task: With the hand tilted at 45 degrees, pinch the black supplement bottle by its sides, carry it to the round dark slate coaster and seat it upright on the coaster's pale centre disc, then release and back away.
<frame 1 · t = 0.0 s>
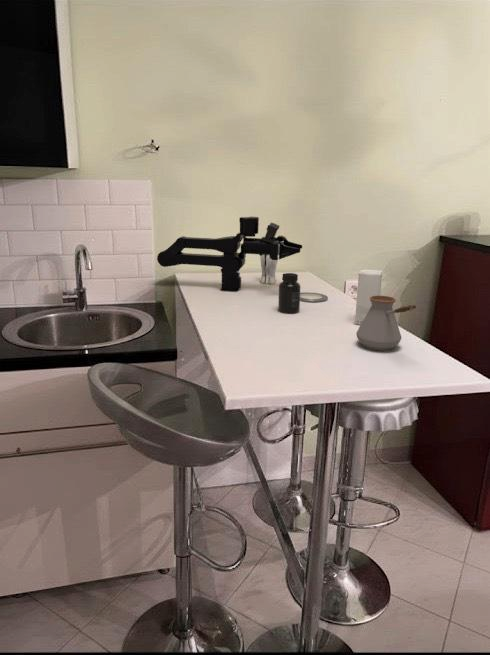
hand: (301, 248, 182), 17 cm above the countertop, tool horizontal, fingers open, 9 cm apart
skincare box: (365, 322, 155), on the countertop
coaster: (310, 298, 182), on the countertop
beer glass: (268, 282, 204), on the countertop
coffee pot: (386, 353, 130), on the countertop
supplement bottle: (288, 311, 165), on the countertop
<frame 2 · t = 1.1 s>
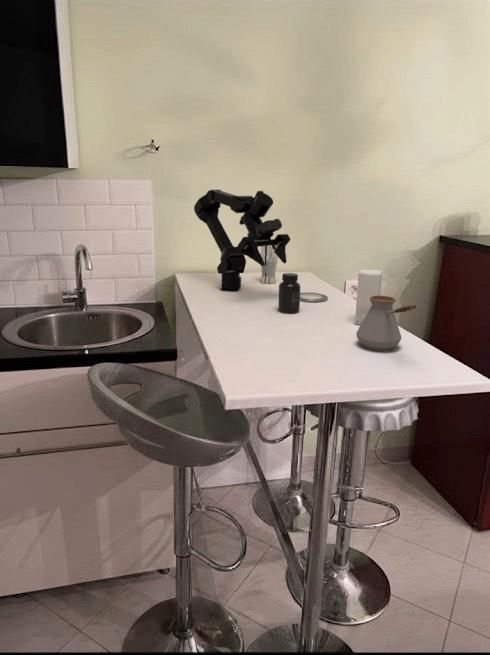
hand: (274, 264, 167), 14 cm above the countertop, tool tilted 45°, fingers open, 9 cm apart
nothing on the countertop moved.
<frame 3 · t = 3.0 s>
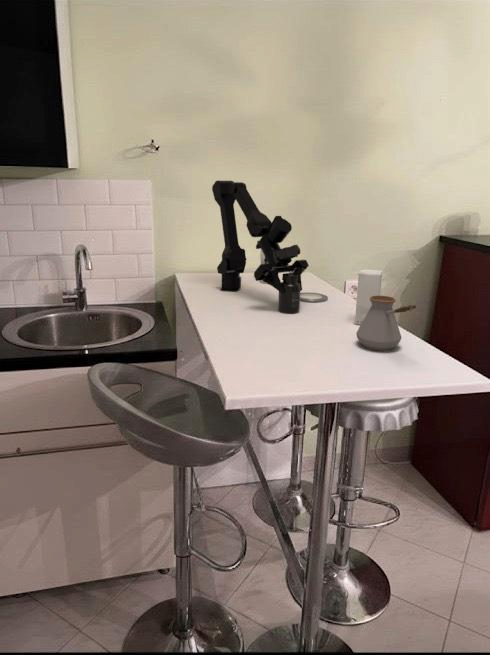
hand: (292, 291, 162), 7 cm above the countertop, tool tilted 45°, fingers closed on supplement bottle, 7 cm apart
supplement bottle: (288, 311, 165), on the countertop, touching gripper
everything else where it was.
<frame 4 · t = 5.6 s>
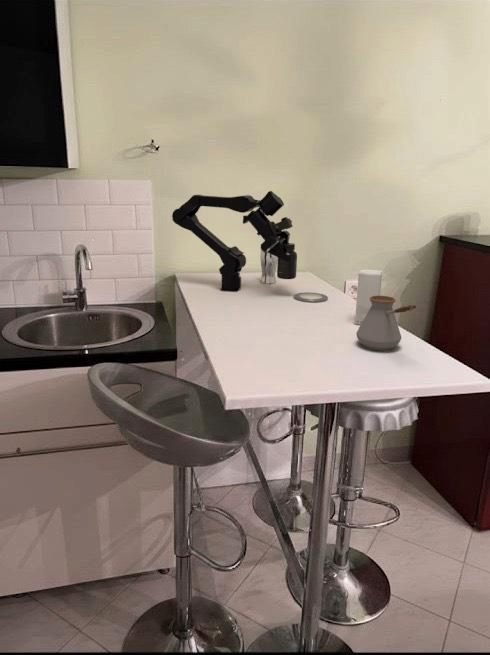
hand: (291, 259, 180), 13 cm above the countertop, tool tilted 45°, fingers closed on supplement bottle, 7 cm apart
supplement bottle: (286, 278, 182), point 6 cm above the countertop, touching gripper
everything else where it was.
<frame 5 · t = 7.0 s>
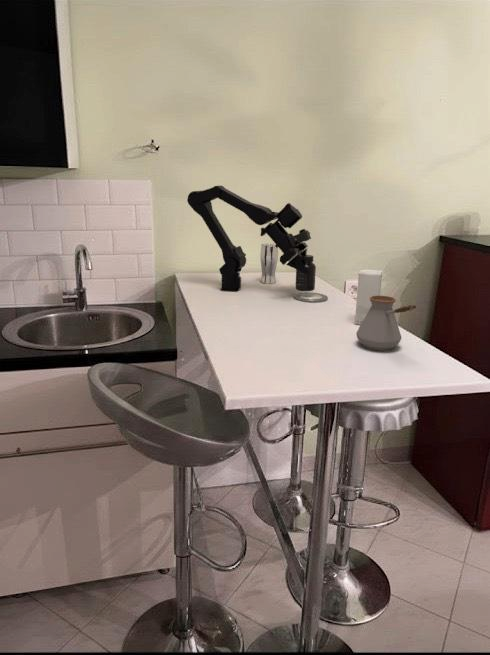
hand: (309, 271, 179), 10 cm above the countertop, tool tilted 45°, fingers closed on supplement bottle, 7 cm apart
supplement bottle: (304, 290, 182), point 3 cm above the countertop, touching gripper
everything else where it was.
when the fingers open (8 cm above the countertop, at t = 8.1 s): supplement bottle stays where it is, resting on coaster.
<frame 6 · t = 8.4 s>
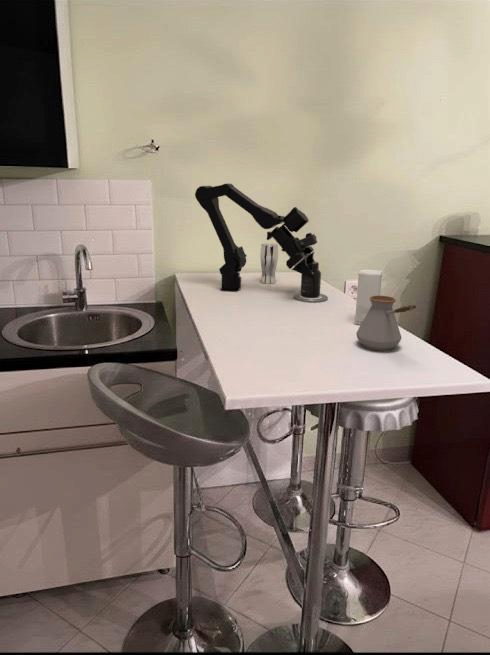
hand: (316, 275, 179), 8 cm above the countertop, tool tilted 45°, fingers open, 9 cm apart
supplement bottle: (309, 296, 182), resting on coaster
everything else where it was.
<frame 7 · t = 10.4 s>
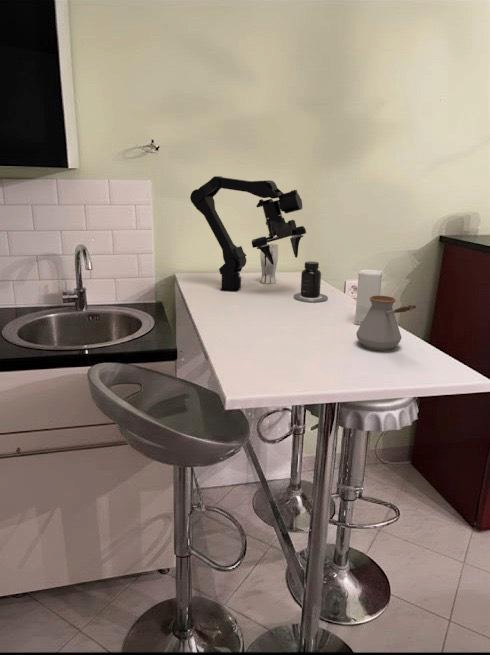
hand: (284, 260, 180), 13 cm above the countertop, tool tilted 15°, fingers open, 9 cm apart
nothing on the countertop moved.
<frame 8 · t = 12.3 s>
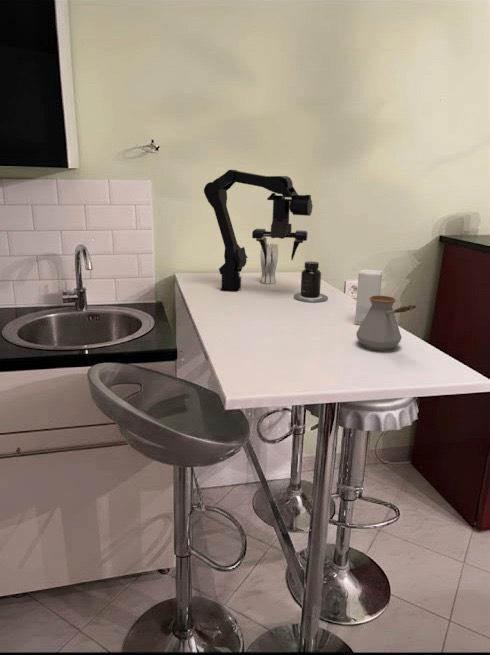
hand: (278, 259, 181), 13 cm above the countertop, tool pointing down, fingers open, 9 cm apart
nothing on the countertop moved.
at the end: supplement bottle 0.3 cm from the coaster (horizontally); supplement bottle tilted 0°; the gripper is holding nothing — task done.
